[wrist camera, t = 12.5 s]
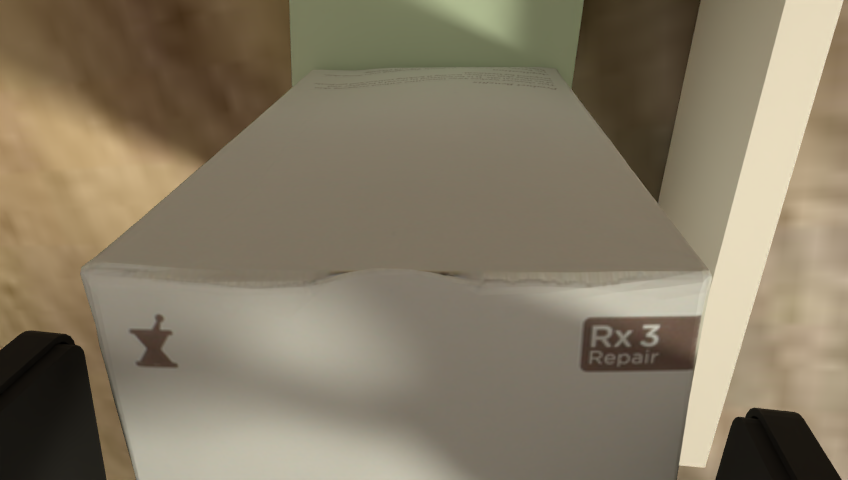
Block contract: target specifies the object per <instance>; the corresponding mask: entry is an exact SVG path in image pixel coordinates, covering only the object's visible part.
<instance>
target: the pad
mask: <svg viewBox="0 0 848 480" xmlns="http://www.w3.org/2000/svg"><path fill="white" fill-rule="evenodd" d="M583 4H584V0H289V8H290V39H291V71H292V87H293V86H294V85H296V84H297V83H298V82H299V81H300V80H301V79H302V78H304V77H305V76H306V75H307V74H308V73H309V72H310V71H311V70H367V69H378V68H417V67H546V68H556V69H557V70H558V72H559V73H560V75H561V76H562V78H563V79H564V80H565V82H566V83H567V84H568V85H569V87H570V88H572V81H573V74H574V67H575V60H576V53H577V46H578V39H579V32H580V25H581V18H582V11H583Z"/></svg>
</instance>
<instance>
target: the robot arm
mask: <svg viewBox="0 0 848 480" xmlns="http://www.w3.org/2000/svg"><path fill="white" fill-rule="evenodd" d="M0 480H106V474H105V469H104V463H103V457H102V452H101V446H100V440H99V434H98V429H97V423H96V417H95V411H94V406H93V400H92V394H91V388H90V383H89V377H88V371H87V365H86V360H85V355H84V351H83V349H82V348H81V347H80V346H77V345H75V343H74V340H73V339H72V338H71V337H70V336H68V335H66V334H59V333H49V332H40V331H25V332H24V333H22V334H20V335H19V336H17V337H16V338H15V339H14V340H12V341H11V342H10V343H9V344H8V345H6V346H5V347H4V348H3V349H1V350H0ZM716 480H842V479H841V478H840V476H839V475H838V473H837V471H836V470H835V468H834V467H833V465H832V463H831V462H830V460H829V459H828V457H827V456H826V454H825V452H824V451H823V449H822V448H821V446H820V444H819V443H818V441H817V440H816V438H815V436H814V435H813V433H812V432H811V430H810V428H809V427H808V425H807V424H806V422H805V420H804V419H803V418H802V417H801V415H800V414H798V413H795V412H789V411H779V410H770V409H761V408H752V409H750V410H749V411H748V413H747V414H746V417H745V418H744V417H737V418H735V419H734V420H733V422H732V425H731V428H730V431H729V435H728V438H727V442H726V445H725V449H724V452H723V455H722V459H721V462H720V466H719V469H718V473H717V476H716Z"/></svg>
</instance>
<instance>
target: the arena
mask: <svg viewBox="0 0 848 480" xmlns="http://www.w3.org/2000/svg"><path fill="white" fill-rule="evenodd" d="M842 3H843V0H701V2H700V6H699V11H698V16H697V21H696V25H695V30H694V35H693V39H692V44H691V49H690V54H689V58H688V63H687V68H686V72H685V77H684V82H683V87H682V91H681V96H680V101H679V106H678V110H677V115H676V120H675V124H674V129H673V134H672V139H671V143H670V148H669V153H668V157H667V162H666V167H665V172H664V176H663V181H662V186H661V191H660V195H659V200H658V204H659V205H660V207H661V208H662V209H663V211H664V212H665V213H666V215H667V216H668V217H669V218H670V220H671V221H672V222H673V224H674V225H675V226H676V228H677V229H678V230H679V231H680V233H681V234H682V235H683V237H684V238H685V239H686V241H687V242H688V243H689V245H690V246H691V247H692V248H693V250H694V251H695V252H696V254H697V255H698V256H699V257H700V259H701V260H702V261H703V263H704V264H705V265H706V266H707V268H708V269H709V271H710V273H711V275H712V281H711V286H710V291H709V296H708V301H707V306H706V311H705V316H704V322H703V327H702V332H701V338H700V343H699V349H698V354H697V360H696V365H695V370H694V376H693V381H692V387H691V392H690V398H689V404H688V410H687V417H686V423H685V430H684V436H683V443H682V449H681V455H680V461H679V465H681V466H691V467H702V468H705V466H706V462H707V459H708V456H709V452H710V449H711V446H712V442H713V439H714V435H715V432H716V429H717V425H718V422H719V419H720V415H721V412H722V408H723V405H724V402H725V398H726V395H727V392H728V388H729V385H730V381H731V378H732V375H733V371H734V368H735V365H736V361H737V358H738V354H739V351H740V348H741V344H742V341H743V338H744V334H745V331H746V327H747V324H748V321H749V317H750V314H751V311H752V307H753V304H754V300H755V297H756V294H757V290H758V287H759V284H760V280H761V277H762V273H763V270H764V267H765V263H766V260H767V257H768V253H769V250H770V246H771V243H772V240H773V236H774V233H775V230H776V226H777V223H778V219H779V216H780V213H781V209H782V206H783V203H784V199H785V196H786V192H787V189H788V186H789V182H790V179H791V176H792V172H793V169H794V165H795V162H796V159H797V155H798V152H799V149H800V145H801V142H802V138H803V135H804V132H805V128H806V125H807V122H808V118H809V115H810V111H811V108H812V105H813V101H814V98H815V95H816V91H817V88H818V84H819V81H820V78H821V74H822V71H823V68H824V64H825V61H826V57H827V54H828V51H829V47H830V44H831V41H832V37H833V34H834V30H835V27H836V24H837V20H838V17H839V14H840V10H841V7H842Z"/></svg>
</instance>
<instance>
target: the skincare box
mask: <svg viewBox="0 0 848 480" xmlns="http://www.w3.org/2000/svg"><path fill="white" fill-rule="evenodd" d="M80 275H81V278H82V281H83V285H84V288H85V292H86V295H87V298H88V302H89V305H90V308H91V311H92V315H93V318H94V321H95V324H96V329H97V335H98V340H99V345H100V349H101V352H102V356H103V359H104V362H105V366H106V370H107V374H108V378H109V382H110V386H111V390H112V394H113V398H114V401H115V405H116V409H117V412H118V416H119V419H120V423H121V426H122V430H123V434H124V437H125V441H126V444H127V448H128V451H129V455H130V458H131V462H132V465H133V469H134V472H135V477H136V480H677V474H678V468H679V461H680V455H681V449H682V443H683V436H684V430H685V423H686V417H687V410H688V404H689V398H690V392H691V387H692V381H693V376H694V370H695V365H696V360H697V354H698V349H699V343H700V338H701V332H702V327H703V322H704V316H705V311H706V306H707V301H708V296H709V291H710V286H711V281H712V275H711V273H710V271H709V269H708V268H707V266H706V265H705V264H704V263H703V261H702V260H701V259H700V257H699V256H698V255H697V254H696V252H695V251H694V250H693V248H692V247H691V246H690V245H689V243H688V242H687V241H686V239H685V238H684V237H683V235H682V234H681V233H680V231H679V230H678V229H677V228H676V226H675V225H674V224H673V222H672V221H671V220H670V218H669V217H668V216H667V215H666V213H665V212H664V211H663V209H662V208H661V207H660V205H659V204H658V203H657V202H656V200H655V199H654V198H653V196H652V195H651V194H650V193H649V191H648V190H647V189H646V187H645V186H644V185H643V184H642V182H641V181H640V180H639V178H638V177H637V176H636V174H635V173H634V172H633V171H632V169H631V168H630V167H629V165H628V164H627V163H626V161H625V160H624V158H623V157H622V156H621V154H620V153H619V152H618V150H617V149H616V147H615V146H614V145H613V143H612V142H611V141H610V139H609V138H608V137H607V136H606V134H605V133H604V132H603V130H602V129H601V128H600V126H599V125H598V124H597V122H596V121H595V120H594V119H593V117H592V116H591V115H590V113H589V112H588V111H587V109H586V108H585V107H584V105H583V104H582V102H581V101H580V100H579V99H578V97H577V96H576V95H575V94H574V92H573V91H572V89H571V88H570V87H569V85H568V84H567V83H566V82H565V80H564V79H563V78H562V76H561V75H560V73H559V72H558V70H557V69H556V68H546V67H417V68H378V69H367V70H311V71H310V72H309V73H308V74H307V75H306V76H305V77H304V78H302V79H301V80H300V81H299V82H298V83H297V84H296V85H294V86H293V87H292V88H291V89H290V90H289V91H287V92H286V93H285V94H284V95H283V96H282V97H281V98H280V99H278V100H277V101H276V102H275V103H274V104H273V105H271V106H270V107H269V108H268V109H267V110H266V111H265V112H264V113H262V114H261V115H260V116H259V117H258V118H257V119H256V120H255V121H253V122H252V123H251V124H250V125H249V126H248V127H246V128H245V129H244V130H243V131H242V132H240V133H239V134H238V135H237V136H236V137H235V138H234V139H232V140H231V141H230V142H229V143H228V144H227V145H225V146H224V147H223V148H222V149H221V150H220V151H219V152H217V153H216V154H215V155H214V156H213V157H212V158H211V159H210V160H208V161H207V162H206V163H205V164H204V165H202V166H201V167H200V168H199V169H198V170H196V171H195V172H194V173H193V174H192V175H191V176H190V177H188V178H187V179H186V180H185V181H184V182H183V183H182V184H180V185H179V186H178V187H177V188H176V189H175V190H173V191H172V192H171V193H170V194H169V195H168V196H167V197H165V198H164V199H163V200H162V201H161V202H160V203H158V204H157V205H156V206H155V207H154V208H152V209H151V210H150V211H149V212H148V213H147V214H146V215H145V216H143V217H142V218H141V219H140V220H139V221H138V222H136V223H135V224H134V225H133V226H131V227H130V228H129V229H128V230H127V231H126V232H125V233H123V234H122V235H121V236H120V237H119V238H118V239H116V240H115V241H114V242H113V243H112V244H110V245H109V246H108V247H107V248H105V249H104V250H103V251H102V252H101V253H99V254H98V255H97V256H96V257H94V258H93V259H92V260H90V261H89V262H88V263H86V264H85V265H84V266H82V267H81V273H80Z"/></svg>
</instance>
